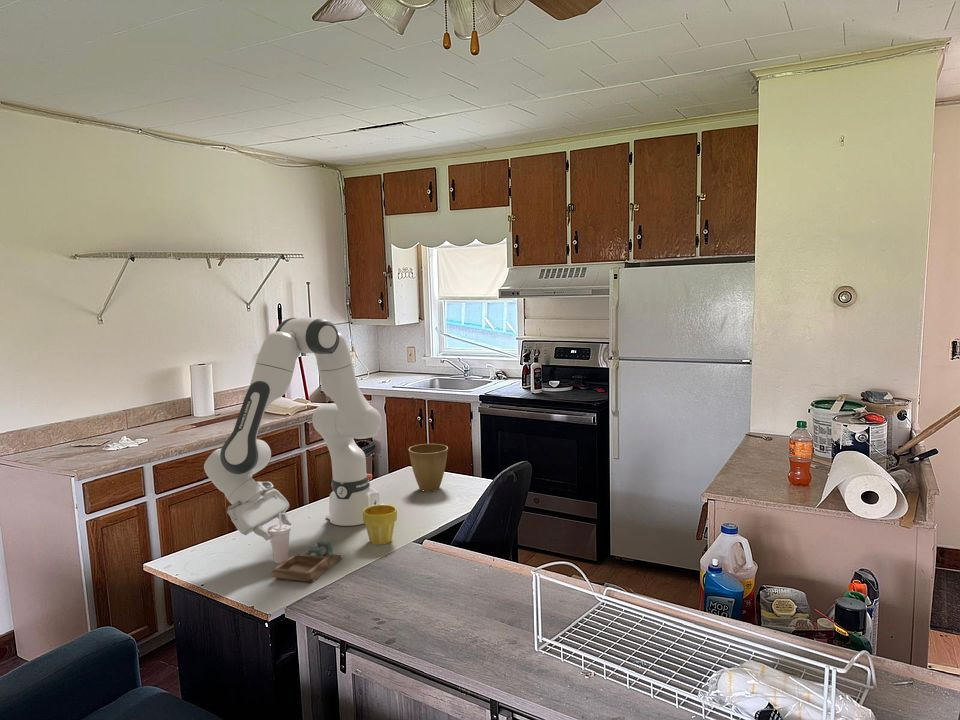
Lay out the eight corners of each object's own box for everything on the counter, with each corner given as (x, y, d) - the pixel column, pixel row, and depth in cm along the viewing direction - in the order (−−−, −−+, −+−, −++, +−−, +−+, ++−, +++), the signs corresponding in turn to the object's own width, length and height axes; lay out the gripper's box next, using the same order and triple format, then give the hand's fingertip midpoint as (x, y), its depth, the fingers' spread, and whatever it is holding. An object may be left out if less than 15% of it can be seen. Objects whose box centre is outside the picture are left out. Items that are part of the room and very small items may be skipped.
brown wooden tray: (311, 552, 198) (310, 538, 197) (344, 555, 195) (343, 541, 194) (272, 580, 179) (271, 565, 179) (309, 584, 176) (308, 569, 176)
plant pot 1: (405, 538, 207) (403, 507, 206) (382, 549, 198) (380, 517, 197) (380, 532, 213) (378, 502, 212) (356, 543, 204) (355, 511, 203)
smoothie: (286, 565, 189) (282, 517, 188) (265, 564, 190) (261, 516, 189) (296, 556, 195) (293, 509, 194) (276, 555, 197) (273, 509, 195)
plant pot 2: (405, 494, 251) (403, 452, 250) (416, 483, 266) (414, 443, 264) (444, 495, 249) (442, 453, 247) (453, 483, 263) (451, 443, 261)
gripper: (230, 501, 183) (264, 538, 181) (273, 480, 202) (304, 513, 201) (217, 516, 185) (251, 553, 183) (262, 493, 204) (292, 527, 202)
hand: (279, 532), depth 192 cm, fingers open, 8 cm apart
